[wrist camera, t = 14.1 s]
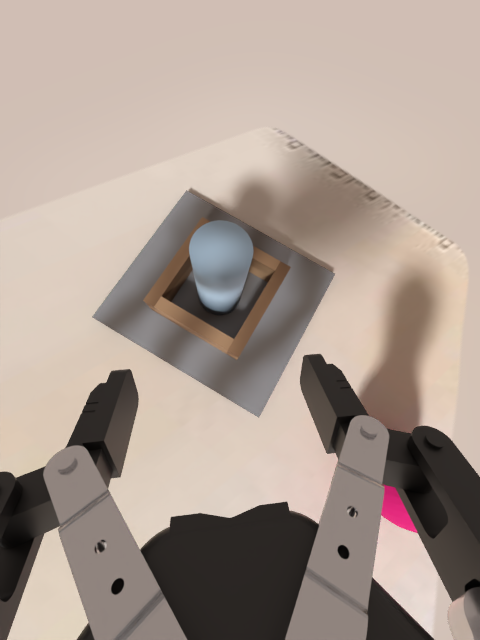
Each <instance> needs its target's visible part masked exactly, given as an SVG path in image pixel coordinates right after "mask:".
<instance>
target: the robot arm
mask: <svg viewBox="0 0 480 640" xmlns="http://www.w3.org/2000/svg"><path fill="white" fill-rule="evenodd" d="M300 385H301V390H302V393H303V395H304V398H305V400H306V403H307V405H308V408H309V410H310V413H311V415H312V418H313V420H314V423H315V425H316V428H317V430H318V433H319V435H320V438H321V440H322V443H323V445H324V448H325V450H326V453H327V454H329V453H336V455H337V457H338V462H337V466H336V469H335V472H334V476H333V479H332V482H331V485H330V489H329V492H328V495H327V499H326V502H325V505H324V508H323V511H322V515H321V518H320V521H319V524H317V523H316V522H315V521H313V520H312V519H310V518H309V517H307V516H305V515H303V514H300V513H297V512H294V511H289V507H288V503H287V502H282V503H274V504H266V505H259V506H257V507H255V508H253V509H250V510H248V511H246V512H244V513H242V514H239V515H237V516H235V517H232V518H226V517H220V516H214V515H208V514H202V513H198V514H191V515H183V516H176V517H171V521H170V527H168V528H166V529H164V530H163V531H161V532H159V533H158V534H156V535H155V536H154V537H152V538H151V539H150V540H149V541H148V542H147V543H146V544H145V545H144V546H143V547H142V548H141V549H139V547H138V545H137V543H136V542H135V540H134V538H133V536H132V534H131V532H130V530H129V528H128V526H127V524H126V523H125V521H124V519H123V517H122V515H121V513H120V511H119V509H118V507H117V505H116V504H115V502H114V500H113V498H112V496H111V494H110V492H109V490H108V487H109V483H110V479H111V478H117V477H121V473H122V469H123V465H124V461H125V457H126V453H127V449H128V445H129V441H130V436H131V432H132V428H133V424H134V420H135V416H136V412H137V408H138V392H137V388H136V385H135V382H134V378H133V375H132V372H131V370H130V369H127V370H115V371H111V373H110V375H109V378H108V380H107V382H106V383H100V384H99V385H98V386H97V387H96V388H95V389H94V390H93V391H92V392H91V393H90V395H89V398H88V400H87V402H86V405H85V406H84V409H83V411H82V414H81V415H80V418H79V420H78V422H77V424H76V426H75V429H74V431H73V433H72V435H71V438H70V440H69V442H68V444H67V446H66V448H65V449H63V450H61V451H59V452H58V453H56V454H55V455H54V456H53V457H52V458H51V459H50V460H49V462H48V463H47V465H46V466H45V467H43V468H40V469H38V470H35V471H33V472H30V473H27V474H25V475H22V476H20V477H17V478H15V477H14V475H13V474H11V473H9V472H0V640H7V637H8V635H9V632H10V629H11V626H12V623H13V621H14V618H15V615H16V612H17V609H18V606H19V604H20V601H21V598H22V595H23V592H24V589H25V587H26V584H27V581H28V578H29V575H30V573H31V570H32V567H33V564H34V561H35V558H36V556H37V553H38V550H39V547H40V544H41V541H42V539H43V536H44V533H46V532H48V531H50V530H52V529H55V528H57V527H59V526H60V528H59V529H58V531H59V536H60V539H61V542H62V545H63V548H64V551H65V554H66V557H67V560H68V562H69V565H70V568H71V571H72V574H73V577H74V580H75V583H76V586H77V589H78V592H79V595H80V598H81V601H82V604H83V607H84V610H85V613H86V616H87V619H88V622H89V623H88V624H87V626H86V627H85V629H84V630H83V631H82V633H81V634H80V636H79V637H78V639H77V640H434V639H433V638H432V637H431V636H430V635H429V634H428V633H427V632H426V631H425V630H424V629H423V628H422V627H421V626H420V625H419V624H418V623H417V622H416V621H415V620H414V619H413V618H412V617H411V616H410V615H409V614H408V613H407V612H406V611H405V610H404V609H403V608H402V607H401V606H400V605H399V604H398V603H397V602H396V601H395V600H394V599H393V598H392V597H391V596H390V595H389V594H388V593H387V592H386V591H385V590H384V589H383V588H382V587H381V586H380V585H379V584H378V583H377V582H376V581H375V580H374V579H373V578H372V574H373V567H374V561H375V554H376V547H377V540H378V533H379V526H380V519H381V512H382V505H383V498H384V485H386V486H391V487H395V488H396V490H397V492H398V494H399V496H400V498H401V500H402V502H403V504H404V506H405V508H406V510H407V512H408V514H409V516H410V518H411V520H412V522H413V524H414V526H415V528H416V530H417V532H418V534H419V536H420V538H421V540H422V542H423V544H424V546H425V548H426V550H427V552H428V554H429V556H430V558H431V560H432V562H433V564H434V566H435V568H436V570H437V572H438V574H439V576H440V578H441V580H442V582H443V584H444V586H445V588H446V590H447V592H448V594H449V596H450V598H451V600H452V603H451V604H450V606H449V609H448V623H449V627H450V630H451V633H452V636H453V639H454V640H480V477H479V475H478V474H477V473H476V472H475V470H474V469H473V468H472V466H471V465H470V464H469V463H468V461H467V460H466V459H465V457H464V456H463V455H462V453H461V452H460V451H459V450H458V448H457V447H456V446H455V444H454V443H453V442H452V441H451V439H450V438H449V437H448V436H447V435H445V434H444V433H442V432H441V431H439V430H437V429H435V428H432V427H428V426H419V427H416V428H415V429H414V430H413V432H412V434H411V433H405V432H400V431H394V430H390V429H387V428H386V427H385V426H384V425H383V424H382V423H381V422H380V421H378V420H377V419H375V418H373V417H370V416H369V415H368V414H367V412H366V410H365V409H364V407H363V405H362V404H361V402H360V400H359V399H358V397H357V396H356V394H355V392H354V391H353V389H352V388H351V386H350V384H349V383H348V381H347V379H346V378H345V376H344V374H343V373H342V371H341V370H340V369H338V368H337V367H336V366H335V365H333V364H326V362H325V360H324V358H323V357H322V355H321V354H313V355H304V357H303V363H302V370H301V376H300Z"/></svg>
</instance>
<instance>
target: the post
mask: <svg viewBox="0 0 480 640" xmlns="http://www.w3.org/2000/svg"><path fill="white" fill-rule="evenodd" d="M189 254H190V259H191V264H192V268H193V273H194V277H195V282H196V287H197V291H198V296H199V300H200V303H201V305H202V307H203V308H204V309H205V310H206V311H208V312H209V313H211V314H214V315H226V314H228V313H230V312H232V311H233V310H234V309H235V308H236V307H237V306H238V304H239V301H240V298H241V294H242V291H243V288H244V284H245V281H246V278H247V274H248V271H249V268H250V265H251V261H252V258H253V244H252V241H251V239H250V237H249V235H248V234H247V232H246V231H245V230H244V229H243V228H241V227H240V226H239V225H237V224H235V223H232V222H229V221H223V220H218V221H212V222H209V223H206V224H204V225H202V226H201V227H200V228H199V229H197V231H196V232H195V233H194V234H193V236H192V238H191V241H190V245H189Z"/></svg>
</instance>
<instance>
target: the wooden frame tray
mask: <svg viewBox="0 0 480 640" xmlns="http://www.w3.org/2000/svg"><path fill="white" fill-rule="evenodd" d="M218 220H223V221H229V222H232V223H235V224H237V225H239V226H240V227H241V228H243V229H244V230H245V231H246V232H247V234H248V235H249V237H250V239H251V241H252V244H253V258H252V261H251V265H250V268H249V271H248V274H247V278H246V281H245V284H244V288H243V291H242V294H241V298H240V301H239V304H238V306H237V307H236V308H235V309H234V310H233V311H232V312H230V313H228V314H226V315H214V314H211V313H209V312H208V311H206V310H205V309H204V308H203V307H202V305H201V303H200V300H199V296H198V291H197V287H196V282H195V277H194V273H193V268H192V264H191V259H190V254H189V245H190V241H191V238H192V236H193V234H194V233H195V232H196V231H197V229H199V228H200V227H201V226H202V225H204V224H206V223H209V222H212V221H218ZM334 275H335V274H334V273H333V272H331V271H329V270H327V269H326V268H324V267H322V266H320V265H318V264H317V263H315V262H313V261H311V260H310V259H308V258H306V257H304V256H302V255H301V254H299V253H297V252H295V251H293V250H292V249H290V248H288V247H286V246H285V245H283V244H281V243H279V242H277V241H276V240H274V239H272V238H270V237H269V236H267V235H265V234H263V233H261V232H260V231H258V230H256V229H254V228H253V227H251V226H249V225H247V224H245V223H244V222H242V221H240V220H238V219H237V218H235V217H233V216H231V215H229V214H228V213H226V212H224V211H222V210H221V209H219V208H217V207H215V206H213V205H212V204H210V203H208V202H206V201H205V200H203V199H201V198H199V197H197V196H196V195H194V194H192V193H190V192H188V191H187V190H186V192H185V193H184V195H183V196H182V197H181V199H180V200H179V201H178V203H177V204H176V205H175V207H174V208H173V209H172V211H171V212H170V213H169V215H168V216H167V217H166V219H165V220H164V221H163V223H162V224H161V225H160V227H159V228H158V229H157V231H156V232H155V233H154V235H153V236H152V237H151V239H150V240H149V241H148V243H147V244H146V245H145V247H144V248H143V249H142V251H141V252H140V253H139V255H138V256H137V257H136V259H135V260H134V261H133V263H132V264H131V266H130V267H129V268H128V270H127V271H126V272H125V274H124V275H123V276H122V278H121V279H120V280H119V282H118V283H117V284H116V286H115V287H114V288H113V290H112V291H111V292H110V294H109V295H108V296H107V298H106V299H105V300H104V302H103V303H102V304H101V306H100V307H99V308H98V310H97V311H96V312H95V314H94V315H93V316H92V317H93V318H95V319H96V320H98V321H100V322H101V323H103V324H105V325H106V326H108V327H110V328H111V329H113V330H114V331H116V332H118V333H119V334H121V335H123V336H124V337H126V338H128V339H129V340H131V341H133V342H134V343H136V344H138V345H139V346H141V347H143V348H144V349H146V350H148V351H149V352H151V353H153V354H154V355H156V356H158V357H159V358H161V359H163V360H164V361H166V362H168V363H169V364H171V365H173V366H174V367H176V368H178V369H179V370H181V371H182V372H184V373H186V374H187V375H189V376H191V377H192V378H194V379H196V380H197V381H199V382H201V383H202V384H204V385H206V386H207V387H209V388H211V389H212V390H214V391H216V392H217V393H219V394H221V395H222V396H224V397H226V398H227V399H229V400H231V401H232V402H234V403H236V404H237V405H239V406H241V407H242V408H244V409H246V410H247V411H249V412H250V413H252V414H254V415H255V416H257V417H259V416H260V415H261V413H262V411H263V409H264V407H265V405H266V403H267V401H268V399H269V398H270V396H271V394H272V392H273V390H274V388H275V386H276V384H277V383H278V381H279V379H280V377H281V375H282V373H283V371H284V369H285V367H286V366H287V364H288V362H289V360H290V358H291V356H292V354H293V352H294V351H295V349H296V347H297V345H298V343H299V341H300V339H301V337H302V335H303V334H304V332H305V330H306V328H307V326H308V324H309V322H310V320H311V319H312V317H313V315H314V313H315V311H316V309H317V307H318V305H319V303H320V302H321V300H322V298H323V296H324V294H325V292H326V290H327V288H328V287H329V285H330V283H331V281H332V279H333V277H334Z"/></svg>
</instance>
